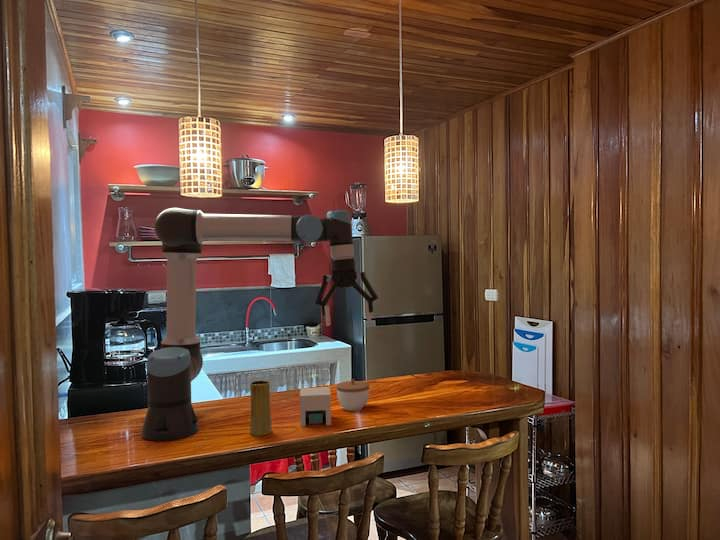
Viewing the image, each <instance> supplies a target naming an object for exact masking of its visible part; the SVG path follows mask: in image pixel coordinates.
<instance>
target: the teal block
mask: <svg viewBox="0 0 720 540" xmlns="http://www.w3.org/2000/svg"><path fill="white" fill-rule="evenodd" d="M323 419H324V417H323V416H322V410H318V411H309V418H308V424H311V423H313V424H323V423H324V422H323ZM311 425H312V424H311Z"/></svg>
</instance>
